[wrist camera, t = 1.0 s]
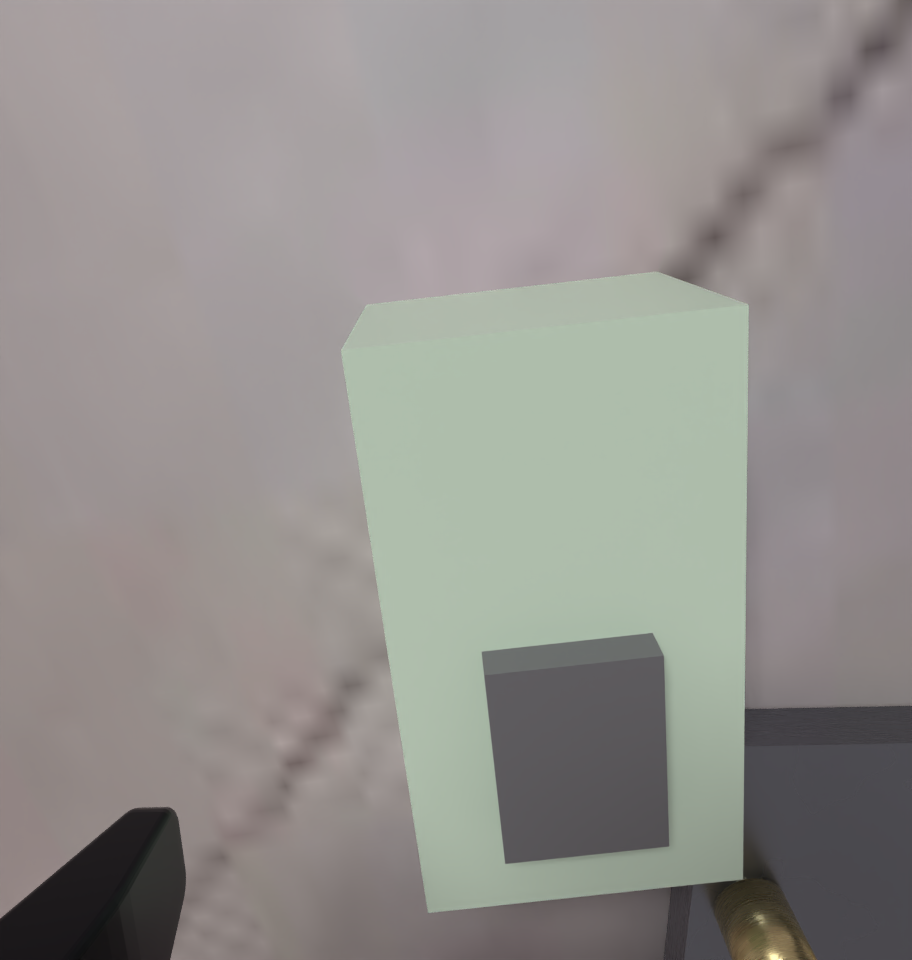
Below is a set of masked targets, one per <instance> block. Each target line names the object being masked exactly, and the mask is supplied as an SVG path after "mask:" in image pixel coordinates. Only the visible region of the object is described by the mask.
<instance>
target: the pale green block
mask: <svg viewBox="0 0 912 960" xmlns="http://www.w3.org/2000/svg"><path fill="white" fill-rule="evenodd" d="M748 318H749V304H746V303H743V302H740V301H737V300H735V299H732V298H729V297H726V296H724V295H721V294H718V293H715V292H712V291H710V290H707V289H704V288H701V287H698V286H696V285H693V284H690V283H687V282H685V281H682V280H679V279H676V278H673V277H671V276H668V275H665V274H662V273H659V272H650V273H641V274H632V275H623V276H615V277H606V278H597V279H588V280H579V281H571V282H562V283H553V284H544V285H535V286H526V287H518V288H509V289H500V290H491V291H482V292H474V293H465V294H456V295H447V296H438V297H429V298H421V299H412V300H403V301H394V302H385V303H376V304H368V305H366V307H365V308H364V310H363V312H362V314H361V316H360V317H359V319H358V321H357V323H356V324H355V326H354V328H353V330H352V332H351V333H350V335H349V337H348V339H347V340H346V342H345V344H344V346H343V348H342V349H341V355H342V361H343V368H344V374H345V380H346V387H347V393H348V400H349V406H350V413H351V419H352V426H353V432H354V439H355V445H356V451H357V458H358V464H359V471H360V477H361V484H362V490H363V497H364V503H365V510H366V516H367V522H368V529H369V535H370V542H371V548H372V555H373V561H374V568H375V574H376V581H377V587H378V593H379V600H380V606H381V613H382V619H383V626H384V632H385V639H386V645H387V652H388V658H389V664H390V671H391V677H392V684H393V690H394V697H395V703H396V710H397V716H398V723H399V729H400V735H401V742H402V748H403V755H404V761H405V768H406V774H407V781H408V787H409V794H410V800H411V806H412V813H413V819H414V826H415V832H416V839H417V845H418V852H419V858H420V865H421V871H422V877H423V884H424V890H425V897H426V903H427V910H428V913H433V912H443V911H452V910H461V909H471V908H480V907H489V906H499V905H508V904H517V903H527V902H536V901H545V900H555V899H564V898H574V897H583V896H592V895H602V894H611V893H620V892H630V891H639V890H648V889H658V888H667V887H676V886H686V885H695V884H704V883H714V882H723V881H733V880H742V879H743V820H744V720H745V619H746V519H747V418H748Z"/></svg>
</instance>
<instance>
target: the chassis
mask: <svg viewBox="0 0 912 960" xmlns="http://www.w3.org/2000/svg"><path fill="white" fill-rule="evenodd" d="M664 960H912V706H890V707H837V708H785V709H745V720H744V820H743V879H742V880H733V881H723V882H714V883H704V884H695V885H686V886H676V887H672V889H671V898H670V907H669V917H668V926H667V935H666V944H665V953H664Z"/></svg>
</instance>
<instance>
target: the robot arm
mask: <svg viewBox="0 0 912 960" xmlns="http://www.w3.org/2000/svg"><path fill="white" fill-rule="evenodd" d="M185 886H186V871H185V863H184V856H183V849H182V842H181V835H180V827H179V821H178V817H177V815H176V812H175V811H174V810H173V809H171V808H169V807H152V808H135V809H132V810H130V811H128V812H127V813H126V814H124V815H123V816H122V817H121V818H120V819H118V820H117V821H116V822H115V823H114V824H112V825H111V826H110V827H109V828H108V829H106V830H105V831H104V832H103V833H102V834H101V835H99V836H98V837H97V838H96V839H95V840H93V841H92V842H91V843H90V844H89V845H87V846H86V847H85V848H84V849H83V850H81V851H80V852H79V853H78V854H77V855H76V856H74V857H73V858H72V859H71V860H70V861H68V862H67V863H66V864H65V865H64V866H62V867H61V868H60V869H59V870H58V871H56V872H55V873H54V874H53V875H52V876H50V877H49V878H48V879H47V880H46V881H45V882H43V883H42V884H41V885H40V886H39V887H37V888H36V889H35V890H34V891H33V892H31V893H30V894H29V895H28V896H27V897H25V898H24V899H23V900H22V901H21V902H20V903H18V904H17V905H16V906H15V907H14V908H12V909H11V910H10V911H9V912H8V913H6V914H5V915H4V916H3V917H2V918H0V960H170V958H171V953H172V949H173V944H174V940H175V936H176V931H177V927H178V922H179V918H180V913H181V909H182V905H183V900H184V895H185Z"/></svg>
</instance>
